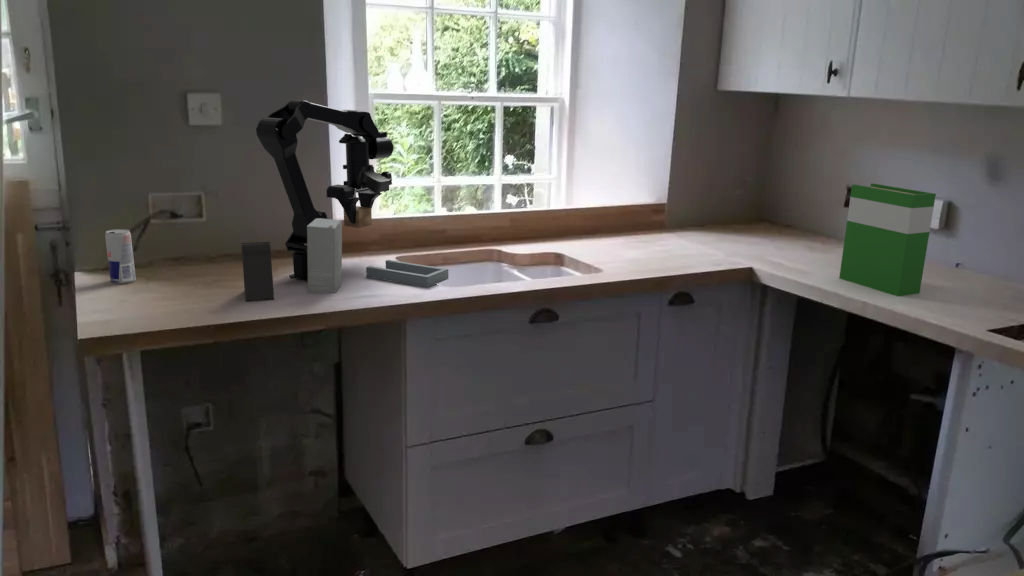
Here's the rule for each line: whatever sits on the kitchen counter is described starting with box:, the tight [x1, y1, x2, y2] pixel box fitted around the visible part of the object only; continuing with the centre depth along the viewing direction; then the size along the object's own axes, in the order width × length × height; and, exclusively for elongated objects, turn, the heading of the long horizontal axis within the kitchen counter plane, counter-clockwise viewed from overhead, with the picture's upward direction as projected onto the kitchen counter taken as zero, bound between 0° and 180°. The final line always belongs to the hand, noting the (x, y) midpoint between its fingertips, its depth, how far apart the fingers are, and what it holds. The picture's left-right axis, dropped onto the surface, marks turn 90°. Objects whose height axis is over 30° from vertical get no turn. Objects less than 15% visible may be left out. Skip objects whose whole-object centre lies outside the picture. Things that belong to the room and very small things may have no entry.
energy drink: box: [104, 228, 137, 285], centre depth 184 cm, size 5×5×12 cm
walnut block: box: [343, 205, 373, 229], centre depth 205 cm, size 5×5×4 cm
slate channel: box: [365, 259, 449, 288], centre depth 194 cm, size 9×18×2 cm, turn 62°
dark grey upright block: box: [240, 241, 275, 303], centre depth 175 cm, size 9×6×12 cm, turn 19°
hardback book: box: [839, 182, 937, 297], centre depth 193 cm, size 18×7×24 cm, turn 25°
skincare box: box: [306, 218, 343, 294], centre depth 181 cm, size 8×7×16 cm
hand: (359, 221), depth 205 cm, fingers closed on walnut block, 5 cm apart
